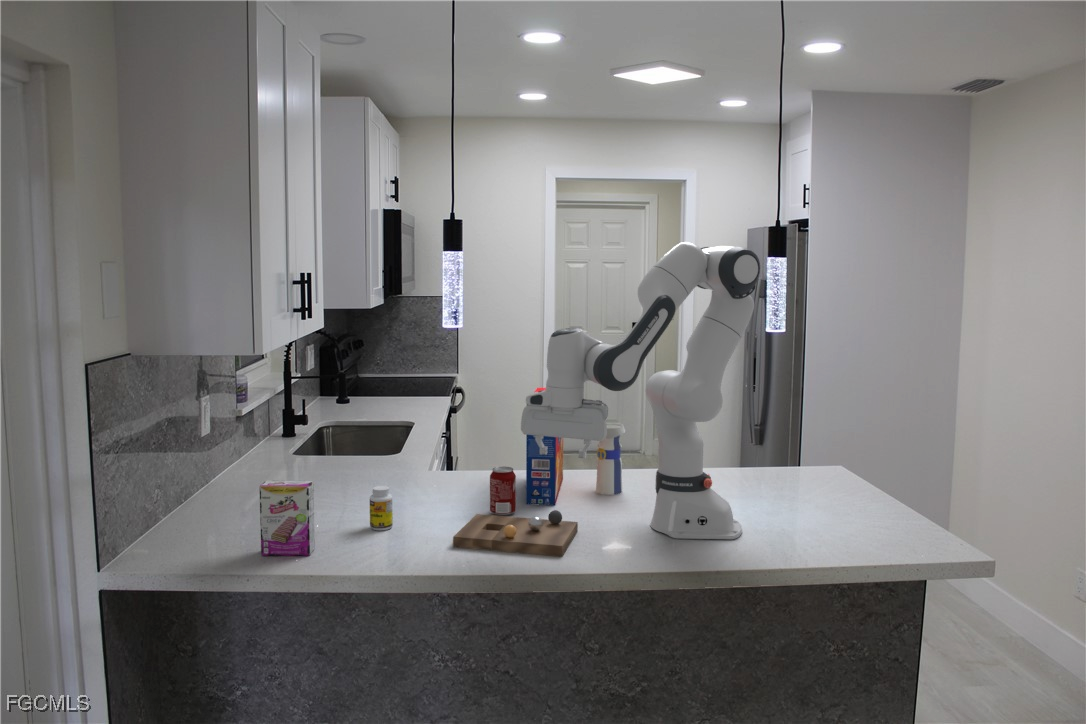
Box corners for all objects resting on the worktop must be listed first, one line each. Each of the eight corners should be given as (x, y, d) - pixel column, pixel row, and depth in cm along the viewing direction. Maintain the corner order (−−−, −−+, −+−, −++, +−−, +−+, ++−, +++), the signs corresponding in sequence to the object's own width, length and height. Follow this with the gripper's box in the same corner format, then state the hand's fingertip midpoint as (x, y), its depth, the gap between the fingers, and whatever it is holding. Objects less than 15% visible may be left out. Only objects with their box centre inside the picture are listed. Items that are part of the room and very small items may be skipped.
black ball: (563, 522, 210) (563, 509, 210) (560, 526, 207) (560, 513, 206) (549, 521, 211) (550, 508, 210) (546, 525, 207) (546, 512, 207)
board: (577, 531, 211) (577, 521, 210) (562, 556, 193) (562, 545, 193) (476, 523, 217) (476, 514, 216) (453, 547, 199) (453, 536, 199)
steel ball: (544, 528, 205) (544, 515, 205) (540, 533, 202) (540, 519, 201) (530, 527, 206) (530, 514, 205) (526, 532, 202) (526, 518, 202)
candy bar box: (260, 557, 192) (257, 485, 190) (266, 549, 197) (264, 480, 195) (310, 556, 192) (308, 485, 190) (315, 549, 197) (313, 479, 195)
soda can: (512, 518, 222) (512, 472, 220) (487, 516, 223) (486, 471, 221) (518, 510, 228) (518, 466, 227) (493, 508, 229) (493, 465, 228)
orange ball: (518, 535, 200) (518, 523, 199) (514, 540, 197) (514, 527, 196) (505, 534, 200) (505, 522, 200) (502, 539, 198) (502, 526, 197)
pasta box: (555, 505, 233) (556, 404, 230) (526, 504, 234) (526, 403, 230) (562, 478, 261) (563, 388, 257) (536, 478, 261) (537, 387, 258)
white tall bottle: (609, 497, 241) (610, 409, 238) (588, 490, 248) (589, 405, 245) (630, 492, 246) (631, 406, 243) (609, 485, 253) (610, 402, 250)
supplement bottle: (365, 529, 212) (364, 488, 211) (380, 523, 217) (379, 483, 215) (382, 532, 209) (382, 492, 208) (397, 526, 214) (396, 486, 213)
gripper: (611, 398, 199) (609, 457, 201) (527, 392, 205) (525, 449, 207) (605, 403, 193) (603, 462, 195) (519, 396, 199) (517, 455, 201)
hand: (562, 456), depth 201 cm, fingers open, 8 cm apart
